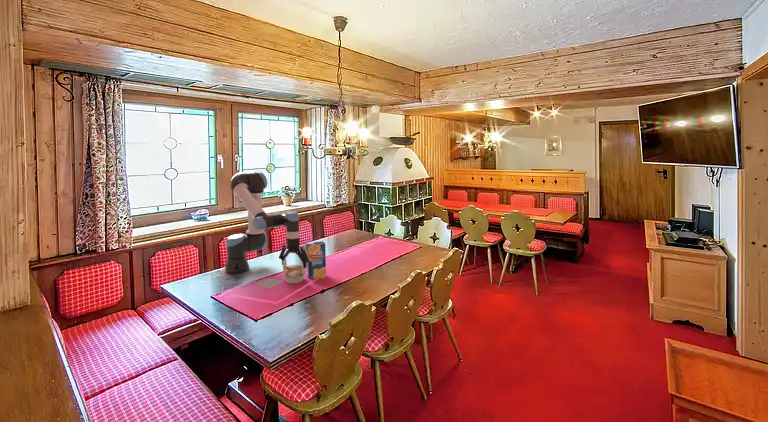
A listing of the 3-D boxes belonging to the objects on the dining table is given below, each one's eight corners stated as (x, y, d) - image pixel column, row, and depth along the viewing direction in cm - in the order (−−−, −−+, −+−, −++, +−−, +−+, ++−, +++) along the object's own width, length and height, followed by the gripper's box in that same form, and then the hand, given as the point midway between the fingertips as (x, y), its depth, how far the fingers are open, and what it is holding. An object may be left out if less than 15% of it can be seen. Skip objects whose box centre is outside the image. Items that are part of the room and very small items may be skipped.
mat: (254, 286, 229) (254, 285, 229) (267, 280, 240) (267, 278, 240) (271, 289, 225) (271, 287, 224) (283, 282, 236) (283, 281, 235)
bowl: (284, 284, 232) (284, 276, 231) (288, 279, 242) (287, 271, 241) (301, 284, 233) (301, 276, 232) (304, 279, 242) (304, 271, 242)
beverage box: (306, 276, 247) (305, 242, 243) (323, 274, 251) (323, 241, 247) (308, 280, 240) (307, 245, 237) (326, 277, 244) (325, 244, 240)
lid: (280, 275, 234) (280, 268, 233) (292, 269, 244) (292, 263, 244) (297, 278, 229) (296, 271, 228) (308, 272, 240) (308, 265, 239)
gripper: (271, 237, 234) (273, 270, 237) (307, 241, 225) (308, 276, 228) (279, 234, 241) (281, 267, 244) (314, 238, 231) (315, 272, 235)
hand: (294, 271), depth 236 cm, fingers open, 13 cm apart
